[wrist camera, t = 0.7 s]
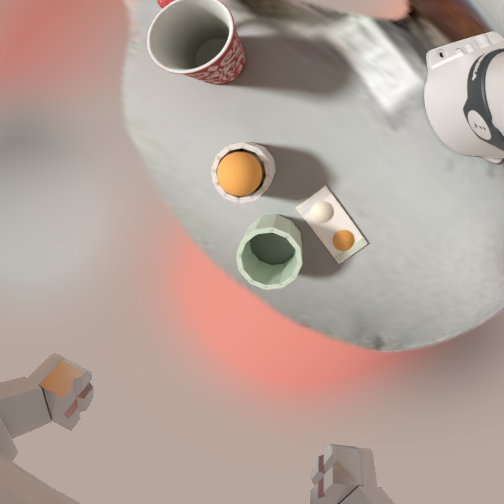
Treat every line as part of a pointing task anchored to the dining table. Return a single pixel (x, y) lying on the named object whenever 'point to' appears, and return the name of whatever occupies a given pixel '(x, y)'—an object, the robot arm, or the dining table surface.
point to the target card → (332, 224)
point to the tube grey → (264, 160)
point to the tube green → (264, 272)
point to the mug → (196, 40)
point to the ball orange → (239, 173)
